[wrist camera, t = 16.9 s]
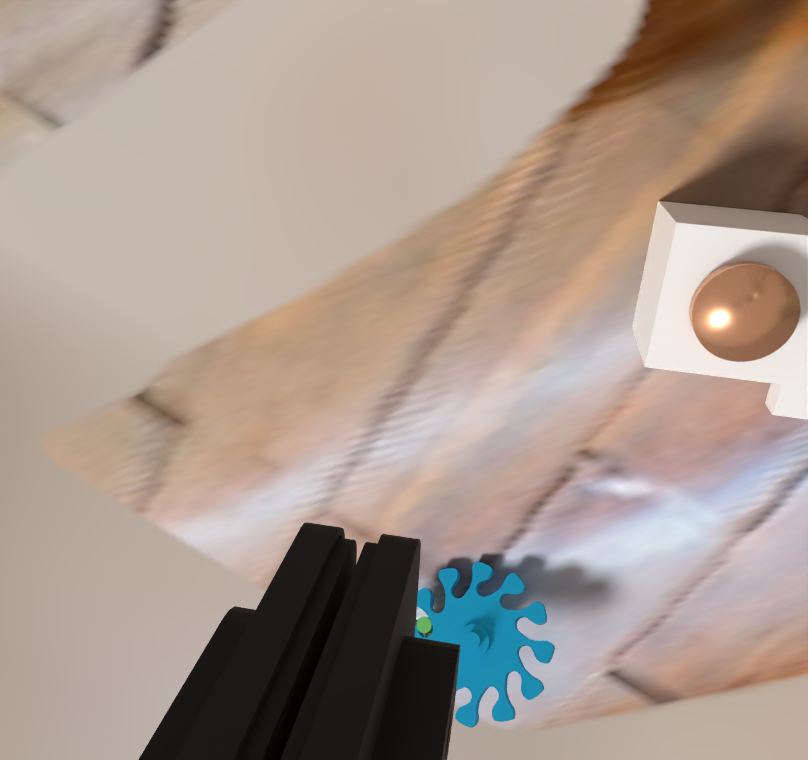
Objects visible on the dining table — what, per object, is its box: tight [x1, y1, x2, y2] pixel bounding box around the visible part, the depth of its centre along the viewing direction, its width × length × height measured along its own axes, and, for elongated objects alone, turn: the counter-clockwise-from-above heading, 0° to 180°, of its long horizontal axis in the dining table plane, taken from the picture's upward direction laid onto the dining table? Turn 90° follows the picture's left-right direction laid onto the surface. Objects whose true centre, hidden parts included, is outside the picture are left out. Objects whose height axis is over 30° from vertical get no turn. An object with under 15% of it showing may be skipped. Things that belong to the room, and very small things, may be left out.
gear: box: [415, 561, 555, 727], centre depth 48 cm, size 11×6×10 cm
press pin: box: [689, 261, 800, 362], centre depth 34 cm, size 4×4×6 cm
